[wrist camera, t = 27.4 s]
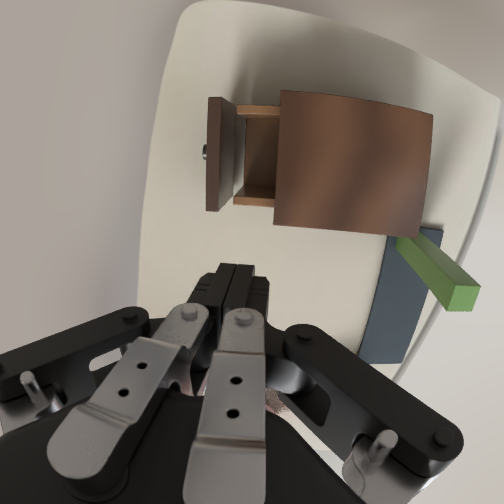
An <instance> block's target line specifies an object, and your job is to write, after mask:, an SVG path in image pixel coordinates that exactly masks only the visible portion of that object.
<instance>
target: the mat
mask: <svg viewBox="0 0 504 504" xmlns="http://www.w3.org/2000/svg"><path fill="white" fill-rule="evenodd" d="M419 232H420V233H422V234H423V235H424V236H425V237H427V238H428V239H429V240H430V241H431V242H432V243H434V244H435V245H436V246H437V247H438V248H440V245H441V241H442V237H443V232H444V231H443V230H440V229H432V228H425V227H420V228H419ZM396 239H397V236H388V235H387V240H386V246H385V251H384V255H383V260H382V265H381V269H380V274H379V278H378V283H377V287H376V291H375V295H374V299H373V303H372V307H371V310H370V314H369V318H368V321H367V325H366V328H365V332H364V335H363V339H362V342H361V345H360V348H359V352H358V355H357V356H358V357H359V358H361V359H362V360H364V361H365V362H366V363H368V364H397V363H402V361H403V359H404V356H405V354H406V351H407V349H408V347H409V344H410V341H411V339H412V336H413V334H414V331H415V328H416V326H417V323H418V320H419V317H420V314H421V311H422V308H423V305H424V302H425V299H426V296H427V293H428V290H429V288H428V286H427V285H426V284H425V283H424V281H423V280H422V279H421V278H420V277H419V275H418V274H417V273H416V272H415V270H414V269H413V268H412V267H411V266H410V265H409V263H408V262H407V261H406V260H405V259H404V257H403V256H402V255H401V254H400V253H399V252H398V251H397V249H396V248H395V244H396Z"/></svg>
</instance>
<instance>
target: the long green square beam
mask: <svg viewBox="0 0 504 504" xmlns="http://www.w3.org/2000/svg"><path fill="white" fill-rule="evenodd" d="M395 248H396V249H397V251H398V252H399V253H400V254H401V255H402V256H403V257H404V259H405V260H406V261H407V262H408V263H409V265H410V266H411V267H412V268H413V269H414V270H415V272H416V273H417V274H418V275H419V277H420V278H421V279H422V280H423V281H424V283H425V284H426V285H427V286H428V288H429V289H430V290H431V291H432V293H433V294H434V295H435V297H436V298H437V299H438V300H439V302H440V303H441V304H442V306H443V307H444V308H445V310H446V311H472V309H473V306H474V304H475V301H476V299H477V296H478V293H479V290H480V287H481V286H480V285H479V284H478V283H477V282H476V281H475V280H474V279H473V278H472V277H470V275H468V274H467V273H466V272H465V271H464V270H463V269H462V268H461V267H460V266H459V265H458V264H457V263H455V262H454V261H453V260H452V259H451V258H450V257H449V256H448V255H446V254H445V253H444V252H443V251H442V250H441V249H440V248H438V247H437V246H436V245H435V244H434V243H432V242H431V241H430V240H429V239H428V238H427V237H425V236H424V235H423V234H422V233H420V232H419V233H418V238H417V239H416V238H407V237H398V236H397V239H396V244H395Z"/></svg>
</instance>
